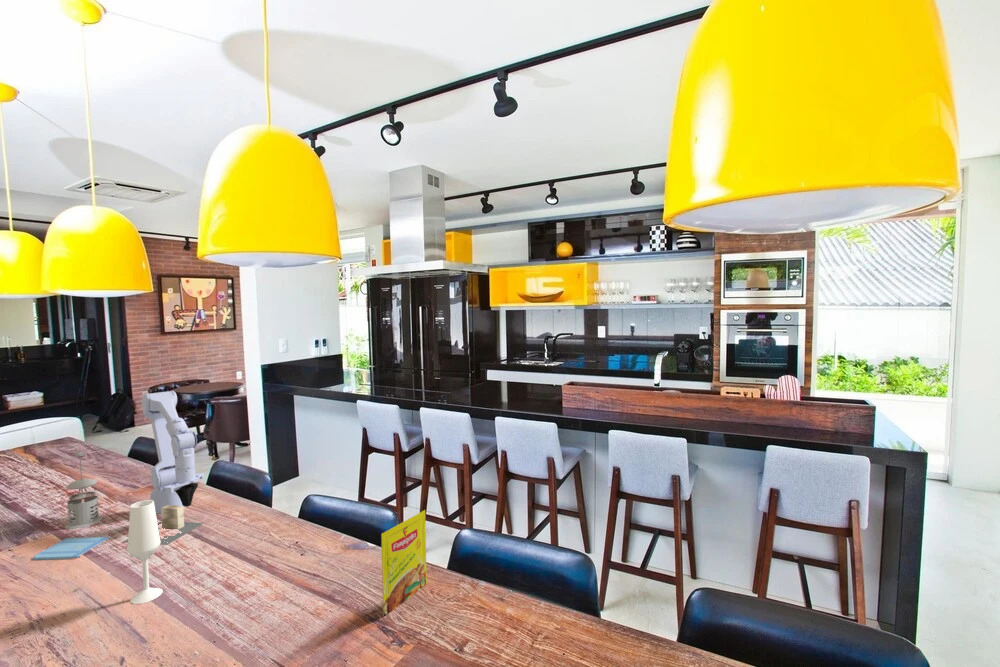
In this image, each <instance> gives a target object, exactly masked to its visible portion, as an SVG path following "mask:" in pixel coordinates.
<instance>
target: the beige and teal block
mask: <svg viewBox="0 0 1000 667" xmlns="http://www.w3.org/2000/svg"><path fill="white" fill-rule="evenodd" d="M184 510H185V508H183V506H176V505H167V506H165V507H163V508H161V513H162V514H161V521H162V528H163V529H164V528H165V529H180V528H182V527H184V522H185V515H184V514H185V513H184V512H185V511H184Z"/></svg>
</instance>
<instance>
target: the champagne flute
mask: <svg viewBox="0 0 1000 667" xmlns="http://www.w3.org/2000/svg"><path fill="white" fill-rule="evenodd" d="M129 508H130V509H129V520H128V521H129V523H128V533H127V534H128V535H127V539H128V543H127V553H128V554H129V555H130V556H131V557H133V558H135V559H137V560H141V564H142V583H143V584H142V585H143V587H142V588H143V589H141V590H140V591H139V592H137V593H136V594H135V595H133V596H132V597H131V598H130V600H129V602H130V604H134V605H139V604H145V603H149V602H151V601H153V600H156V598H159V596H161V595H162V594H163V592H164V591H163V589H162V588H161V587H160V588H158V587H150V576H149V575H150V574H149V558H150V557H152V555H154V553H156V552H157V550H158V549H159V547H160V546H161V545H160V543H161V541H160V535H159V529H158V523H159V522H158V519H157V517H158V516H157V513H156V511H155V505H154V501H153V500H150V499H146V500H145V499H144V500H141V501H137V502H134V503H132V504H130V506H129Z"/></svg>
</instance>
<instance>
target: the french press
mask: <svg viewBox="0 0 1000 667" xmlns="http://www.w3.org/2000/svg"><path fill="white" fill-rule="evenodd" d="M84 455H85V454H84V452H82V451H78V452H77V453H76V457H79V463H80V464H79V467H80V479H76V480H74V481H72V482H70V483H69V484H68V485H66V486H65V488H66V489H68V490H78V491H79V492H78V493H75V494H72V495H70V496H69V497H68V500H69V501H68V502H67V505H66V506H67V520H68V521H67V522H68V523H66V525H65V526H64V528H65V529H67V530H77V529H76V528H78V529H83V528H82V527H84V528H87V527H89V526H90V525H91V526H93V525H95V523H96V524H98V523H100V522H101V521H102V520H103V517H101V516H100V514H99V505H98V504H99V502H98V501H99V499H98V495H96V494H97V492H96V491H87V488H89V487H93V486H95V485H96V484H97V483H98V480H96V479H93V478H83V476H82V475H83V473H82V456H84ZM83 490H85V492H84V491H83ZM82 500H84V502H82ZM101 519H102V520H101ZM100 520H101V521H100ZM99 521H100V522H99ZM97 522H98V523H97ZM86 526H87V527H86ZM91 526H90V527H91Z"/></svg>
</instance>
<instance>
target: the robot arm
mask: <svg viewBox="0 0 1000 667" xmlns="http://www.w3.org/2000/svg"><path fill="white" fill-rule="evenodd" d="M177 404H178V396H177V393H176V392H175V390H170V391H169V390H167V391H159V392H153V393H152V392H151V393H144V394H143V395H142V397H141V409H142V413H143V415H144V416H143V417H144V418H146V419H149V421H150V424H151V428H152V432H153V438H154V442H155V448H156V452H157V458H158V462H157V463H156V464H155V465H154V466H153V467H152V469H151V470H150V472H151V473H150V474H151V484H152V486H153V489H152V490H151V493H150V496H149V497H150V499H149V500H153V501H154V505H155V511H156V514H161V515H162V513H161V508H163V507H165V506H167V505H176V506H183V508H184V509H185V508H188V507H190V506H192V502H193V498H194V494H195V493H196V491H197V488H198V487H199V483H198V482H199V480H201V479H205V473H204V472H198V473H196V461H195V460H196V458H195V448H196V447H197V445H198V438H197V435H196V432H195V431H194V430H192V429H189V427H188V425H187V424H186V422H185V420H184V419H183V418H182V417H179V415H178V412H177V409H176V407H177Z"/></svg>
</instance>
